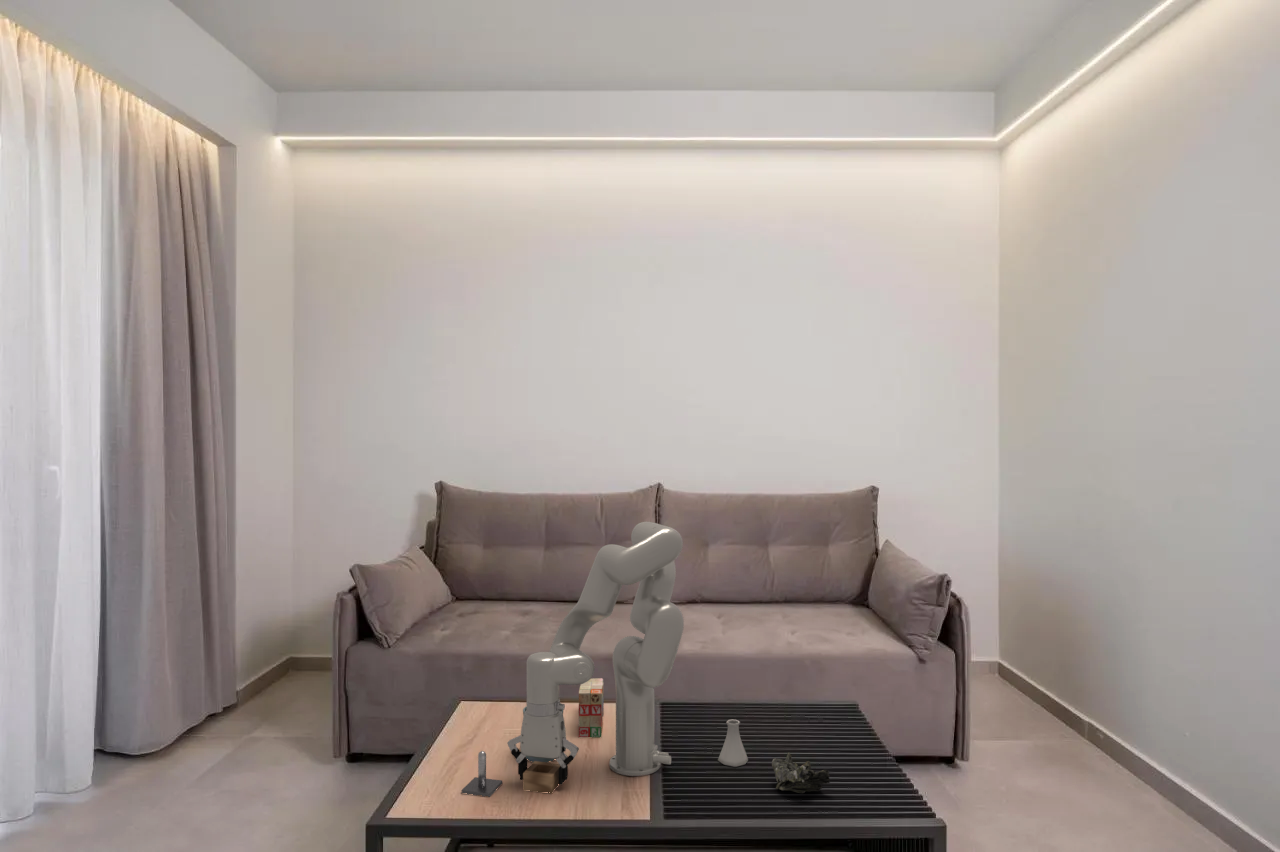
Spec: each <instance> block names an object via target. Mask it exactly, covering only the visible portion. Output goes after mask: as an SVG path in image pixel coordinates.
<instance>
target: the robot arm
mask: <svg viewBox="0 0 1280 852" xmlns="http://www.w3.org/2000/svg"><path fill="white" fill-rule="evenodd" d="M630 540H631V544H632V545H631V546H629V547H626V546H623V545H619V544H611V543H610V544H609V543H608V544H606V545H603V546H601V548H600V549H599V550H598V552H597V554H595V555H596V556H595V557H594V561H593V563H592V566H591V568H590V569H589V570H590V571H589V573H588V577H587V579H586V581H585V584H584V587H583V589H582V592H581V594H580V597H579V599H578V601H577V603H575V604H574V606H573V607H572V608H571V609H570V611H569V612H568V614H566V616H565V617H564V618H563V620H562V621H561V623H560V624H559V627H558V628H557V631H556V633H555V635H554V637H553V638H554V639H553V640H552V644H551V645H550V649H549V651H538V652H535V653H531V654H530V655H529V656H528V657H527V659H526V706H527V710H526V711H525V712H524V716H523V717H522V721H521V722H522V723H521V730H520V735H518V736H515V737H513V738H511V739H509V740H508V742H507V746H508V748H509V750H510V754H511V756H513V757H514V759H515V761H516V763H517V775H519V780H520V781H523V773H524V772H525V771H526V770H527V768H528V760H527V758H526V756H531V757H539V758H548V759H556V760H555V761H556V762H557V764H560V767H559V786H562V785H564V783H565V782H566V781H567V779H568V776H569V775H568V772H569V768H568V766H569V764H571V762H572V761H574V759H575V757H576V756H577V753H578V752H579V750H580V748H579V746H577V745H575V743H573V742H571V741H569V740H568V739H567V733H566V731H567V730H566V726H565V725H566V724H565V717H564V712H563V713H562V711H559V710H563V711H565V707H566V706H565V703H561V699H560V686H561V685H562V686H564V685H565V686H578V685H580V686H581V684H583V683H586V682H587V681H589V680H590V679H591V678H593V676H594V673H595V668H596V667H595V663H594V661H593V659H592V658H591V657H590V656H589V655H588V654H586V653H585V652H583V651H582V650H581V646H582V643H583V641H584V639H585V637H586V635H587V633H588V632H589V630H590V629H591V628H592V627H593V626H594V625H595V624H597V623H599V622H601V621H602V620H605V619H607V618H609V617H610V616H611V615H612V614H613V612H614V609H615V606H616V603H617V600H618V598H619V596H620V593H621V590H622V587H623V586H629V585H630V586H631V585H634V584H637V583H639V584H638V587H637V590H636V593H635V597H634V600H633V604H632V606H631V609H630V615H629V621H630V623H631V625H632V627H633V628H635V630H637V631H638V632H640V633H641V634H644V635H643V636H644V637H639V636H635V635H629V636H625V637H623V638H621V639H620V640H618V642H617V643H616V644H615V647H614V649H613V651H612V668H613V669H612V670H613V674H614V683H615V684H614V685H615V755H613V756H612V757H611V758H610V759H609V765H608V766H609V768H610V769H611V770H612V772H615V773H616V774H619V775H623V776H630V777H642V776H648V775H651V774H653V773H655V772H657V771H658V770H659V769H660V768H661V764H665V765H671V764H672V755H669V752H664V751H660V750H658V744H655V688H658V687H660V686H661V685H663V684H664V683H665V682H666V681H667V679H668V678H669V677H670V675H671V672H672V669H673V667H674V664H675V663H674V662H675V660H676V656H677V653H678V650H679V647H680V644H681V640H682V637H683V633H684V627H685V623H684V622H685V621H684V620H685V619H684V616H683V613H682V610H681V609H680V608H679V607H678V606H677V605H676V604H675V603H673V602H671V601H672V600H671V599H672V595H673V591H674V587H675V583H676V578H677V577H676V574H677V569H676V563H675V561H676V559H678V557H679V556H680V555H681V553H682V550H683V546H684V541H683V536H682V535H681V533H680V532H679V531H677V530H676V529H675V528H673V527H672V526H667V525H663V524H660V523H657V522H652V521H642V522H639V523H637V524H636V525H634V527H633V528H632V531H631V535H630ZM517 744H519V746H520V747H519V748H518V747H517ZM566 750H568V751H569V752H570V753H569V755H568V756H567V755H566V753H565V752H566Z"/></svg>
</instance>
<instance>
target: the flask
mask: <svg viewBox="0 0 1280 852" xmlns="http://www.w3.org/2000/svg"><path fill="white" fill-rule="evenodd" d="M725 724H727V732H726V737H725V740H724V743H723V746H722V749H721V751H720V754H719V756H718V758H717V761H718V762H720V763H721V764H723V765H725V766H729V767H734V768H736V767H740V766H744V765H746V763H748V761H749V758H748V756H747V755H748V754H747V752H746V749H745V747H744V745H743V742H742V739H741V734H740V729H739V728H740V727H739V726H740V725H741V721H739V720H737V719H732V718H731V719H728V720H727V721H726V722H725Z"/></svg>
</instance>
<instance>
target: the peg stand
mask: <svg viewBox="0 0 1280 852" xmlns="http://www.w3.org/2000/svg"><path fill="white" fill-rule="evenodd" d="M477 756H478V757H477V761H478V763H477V766H478V768H477V770H478V771H477V772H478V775H477V776H475V777H473V778H472V779H471V780H470V781H469V782H468V783H467V784H466V785H465V786H464V787H463V788H462V789H461V794H462V793H467V794H466V795H469V794H473V795H472V796H477V795H482V796H481V797H485V796H488V797H487V798H490V797H492V795H494V793H496V791H497V790H498V789H499V788H500V787H501V786H502V785H503V780H500V779H494V778H487V753H486V751H484V750H481V751H479V752H478V755H477ZM501 784H502V785H501ZM500 785H501V786H500ZM499 786H500V787H499ZM498 787H499V788H498ZM497 788H498V789H497ZM496 789H497V790H496Z"/></svg>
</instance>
